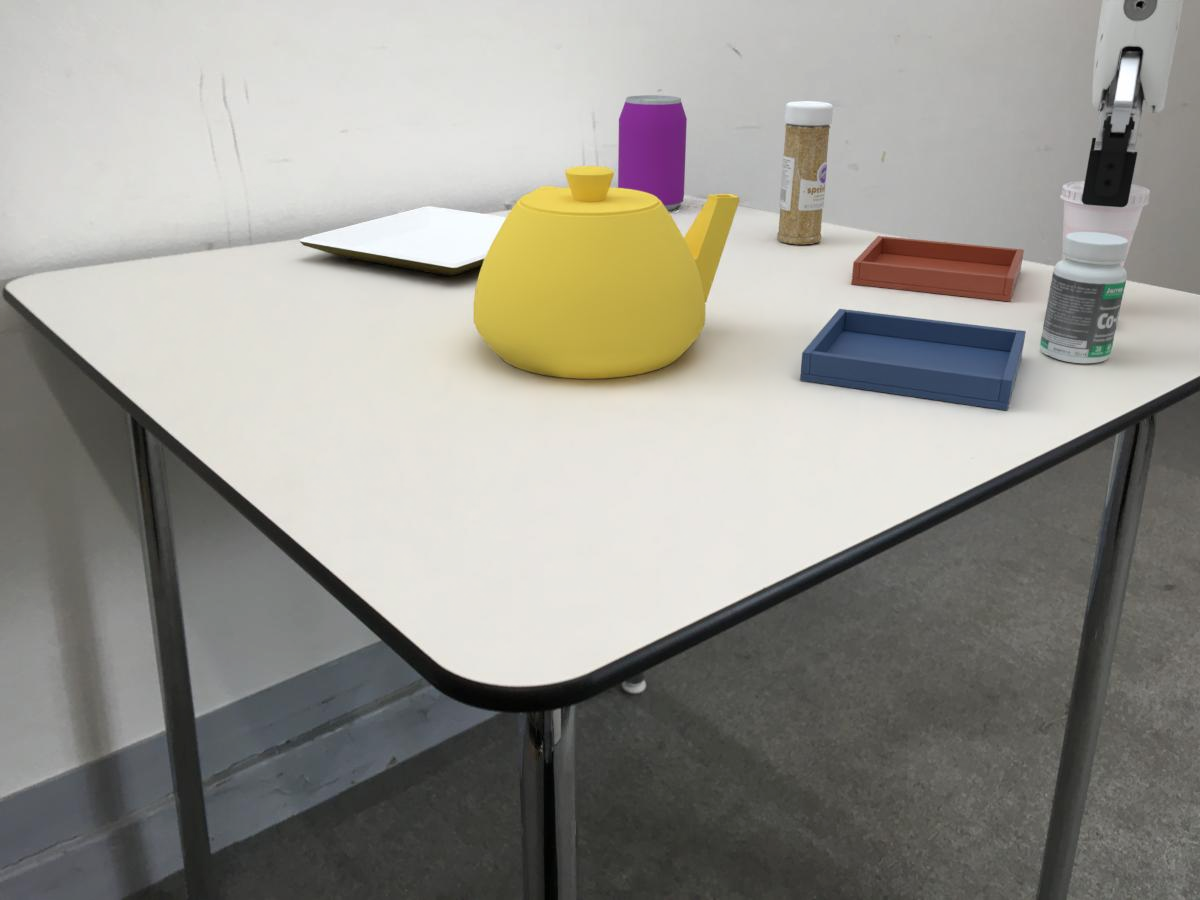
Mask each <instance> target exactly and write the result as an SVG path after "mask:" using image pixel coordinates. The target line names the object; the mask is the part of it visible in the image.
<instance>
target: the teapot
mask: <svg viewBox="0 0 1200 900" xmlns="http://www.w3.org/2000/svg"><path fill="white" fill-rule="evenodd" d="M564 174H565V178H566V181H567V184H568V186H566V187H558V186H556V185H555V186H554V185H545V186H541V187H537V188H535V189H534V190H532V191H531V192H529V193H526V194H524V195H522V196H521V197H520V198H519V199H518V200H517V201H516V202H515V204H514V205H513V207H512V208H511V210H510V211H509V212H508V214H507V216H505V217H506V219H505V221H504V223H503V224H502V226H501V228H500V230H499V231H498V233H497V235H496V237H495V238H494V240H493V242H492V244H491V246H490V248H489V250H488V252H487V255H486V257H485V259H484V261H483V264H482V266H480V270H479V273H478V277H477V281H476V286H475V290H474V297H473V298H474V299H473V324H474V326H475V329H476V331H477V334H479V336H480V337H481V339H483V341H484V342H485V343H486V344H487V345H488V346H489V347H490V348H491V349H492V350H493V352H494V353H495V354H496V355H498V356H499V358H501V359H502V360H503V361H504V362H506V364H509V365H510V366H513V367H514V368H518V369H520V370H523V371H525V372H530V373H533V374H536V375H543V376H548V377H555V378H565V379H584V380H586V379H589V380H591V379H593V380H596V379H614V378H622V377H629V376H630V377H631V376H635V375H642V374H646V373H650V372H653V371H656V370H659V369H663V368H665V367H667V366H669V365H671V364H673V363H675V362H676V361H677V360H678V359H679V358H680V357H681V356H682V355H683V354H684V353H686V351H688V349H689V348H690V347H691V346H692V345H693V343H694V342H695V341H696V340H697V339H698V337H700V335H701V333H702V331H703V329H704V327H705V323H706V303H707V301H708V297H709V294H710V292H711V289H712V286H713V282H714V279H715V276H716V273H717V270H718V267H719V264H720V261H721V258H722V255H723V252H724V249H725V246H726V243H727V240H728V237H729V234H730V231H731V228H732V225H733V222H734V219H735V216H736V212H737V209H738V206H739V203H740V198H741V197H740V196H738V195H735V194H732V193H719V194H718V193H715V194H712V193H711V194H707V199H706V202H705V203H704V205H702V207H701V209H700V211H699V213H698V214H697V216H696V217H695V219H694V220H693V222H692V224H691V225H690V227H689V229H688V230H687V231H686V233H685V235H683V234H682V232H681V230H680V228H679V227H678V225H677V223H676V221H675V220H674V218H673V217H672V215H671V212H669V210H667V209H666V208H665V206H664V205H663V203H662V202H661V201H660V200H659V199H658V198H657V197H656V196H654V195H652V194H649V193H646V192H642V191H638V190H632V189H624V188H618V187H613V186H611V184H612V182H613V179H614V175H615V170H614V169H612V168H610V167H607V166H601V165H578V166H576V165H575V166H572V167H569V168H567V169H565V170H564Z"/></svg>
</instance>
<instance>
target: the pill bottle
mask: <svg viewBox="0 0 1200 900" xmlns="http://www.w3.org/2000/svg"><path fill="white" fill-rule="evenodd" d="M1127 246H1128V240H1127V239H1125V238H1123V237H1120V236H1117V235H1112V234H1107V233H1098V232H1074V233H1069V234H1067V235H1066V237H1065V242H1064V247H1063V246H1062V247H1063V253H1062V252H1061V256H1062V255H1063V256H1064V257H1065V259H1063V260H1062V259H1061V260H1059V261H1057V262H1056V264H1055V265H1054V267H1053V271H1052V276H1051V281H1050V282H1051V283H1050V288H1049V292H1048V293H1049V294H1048V299H1047V305H1046V309H1045V315H1044V319H1043V320H1044V321H1043V324H1042V331H1041V336H1040V343H1039V349H1040V351H1041V352H1042V353H1043V354H1045V355H1046V356H1049V357H1051V358H1053V359H1055V360H1059V361H1062V362H1067V363H1074V364H1096V363H1097V364H1098V363H1101V362H1105V361H1106V360H1108V359H1109V358H1110V356H1111V353H1112V349H1113V343H1114V339H1115V335H1116V334H1115V333H1116V330H1117V324H1118V320H1119V316H1120V310H1121V307H1122V301H1123V298H1124V297H1123V296H1124V292H1125V289H1126V284H1127V278H1128V273H1127V270H1126V269H1125V267H1124V266H1123V267H1122V266H1120V263H1122V262H1124V258H1125V256H1126V252H1127Z"/></svg>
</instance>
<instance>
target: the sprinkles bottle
mask: <svg viewBox="0 0 1200 900" xmlns="http://www.w3.org/2000/svg"><path fill="white" fill-rule="evenodd" d="M784 108H785V109H784V119H783V121H784V123H785V126H784V128H785V133H784V145H783V146H784V147H783V155H782V164H781V165H782V166H781V177H780V178H781V179H780V191H779V192H780V194H779V220H778V230H777V231H778V232H777V233H776V238H777V240H778V241H780V242H782V243H784V244H789V245H795V246H803V245H814V244H817V243H819V242H821V240H822V238H823V237H822V220H823V209H824V207H825V206H824V205H825V204H824V203H825V194H826V184H827V183H826V181H827V170H828V164H827V163H828V150H829V149H828V148H829V140H830V139H829V136H830V129H831V126H830V125H831V124H833V114H834V105H833V104H832V103H830V102H825V101H818V100H817V101H816V100H798V101H790V102H787V103H786V104H785V107H784Z"/></svg>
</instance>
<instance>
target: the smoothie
mask: <svg viewBox="0 0 1200 900" xmlns="http://www.w3.org/2000/svg"><path fill="white" fill-rule="evenodd" d="M1084 183H1085V180H1078V181H1077V180H1075V181H1069V182H1066V183H1064V184H1063V185H1062V190H1061V194H1060V196H1059V197H1060V199H1061V200H1062V201H1063V217H1062V219H1063V220H1062V222H1063V223H1062V224H1063V225H1062V249H1061V251H1062V252H1061V260H1063V259H1065V257H1064V256H1063V255H1062V253H1063V247H1064V242H1065V237H1066V235H1067V234H1069V233H1074V232H1098V233H1107V234H1112V235H1117V236H1120V237H1123V238H1125V239H1127V240H1128V246H1127V252H1126V256H1125V258H1124V262H1122V263H1120V266H1122V267H1123V268H1124V266H1125V264H1126V261H1127V258H1128V254H1129V251H1130V248H1131V245H1132V242H1133V239H1134V235H1135V232H1136V230H1137V228H1138V224H1139V221H1140V218H1141V214H1142V211H1143V209H1144V207H1146V206H1147V205H1149V204H1150V201H1149V199H1150V194H1151V190H1150V189H1149V188H1147V187H1145V186H1141V185H1138V184H1134V183H1133V184H1131V189H1130V195H1129V200H1128V204H1127V205H1126V206H1125V207H1110V206H1095V205H1085V204H1083V203H1082V195H1083V189H1084Z"/></svg>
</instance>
